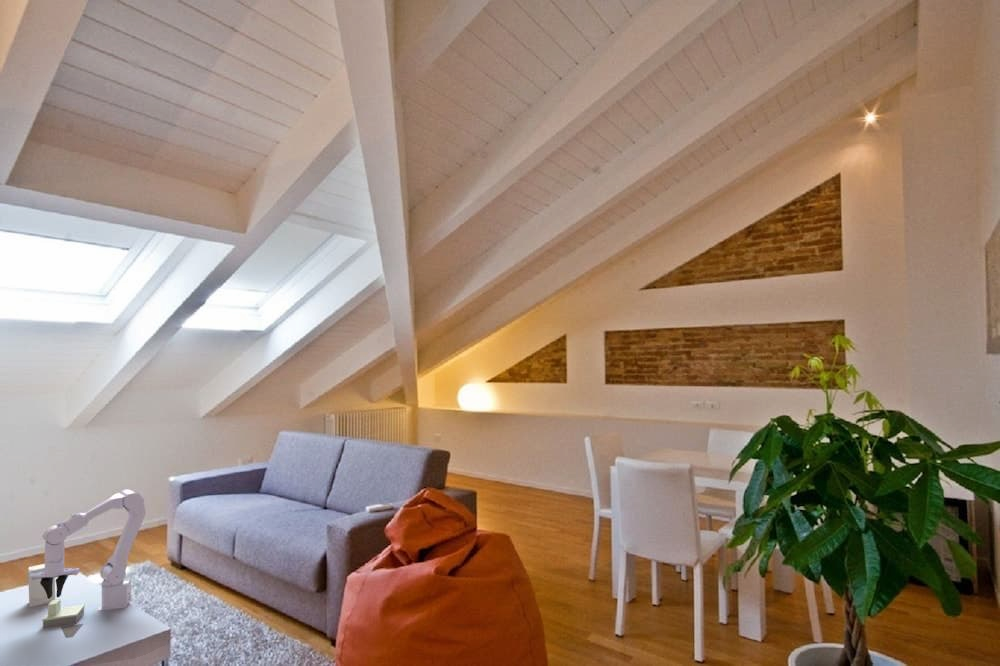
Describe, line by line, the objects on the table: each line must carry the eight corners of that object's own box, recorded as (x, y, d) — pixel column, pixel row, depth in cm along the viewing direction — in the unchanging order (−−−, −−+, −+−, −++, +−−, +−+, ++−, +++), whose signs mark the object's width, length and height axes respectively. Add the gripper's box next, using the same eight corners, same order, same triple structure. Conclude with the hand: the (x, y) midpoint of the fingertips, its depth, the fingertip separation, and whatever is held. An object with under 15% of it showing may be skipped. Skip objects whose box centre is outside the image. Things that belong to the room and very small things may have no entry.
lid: (84, 607, 213) (84, 593, 213) (76, 617, 205) (76, 603, 206) (51, 612, 210) (51, 598, 210) (42, 622, 202) (42, 607, 202)
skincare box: (55, 597, 227) (55, 560, 228) (55, 603, 223) (55, 565, 223) (28, 604, 222) (28, 566, 222) (27, 609, 217) (28, 570, 218)
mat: (83, 624, 205) (83, 623, 205) (72, 638, 196) (72, 636, 196) (42, 630, 201) (42, 629, 201) (30, 644, 191) (30, 643, 191)
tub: (84, 614, 213) (84, 606, 213) (76, 624, 206) (76, 615, 206) (51, 618, 210) (52, 610, 210) (42, 629, 202) (43, 620, 202)
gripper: (82, 553, 213) (81, 589, 213) (35, 558, 208) (35, 595, 208) (75, 559, 207) (75, 597, 206) (26, 565, 202) (26, 603, 201)
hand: (54, 596), depth 207 cm, fingers closed
